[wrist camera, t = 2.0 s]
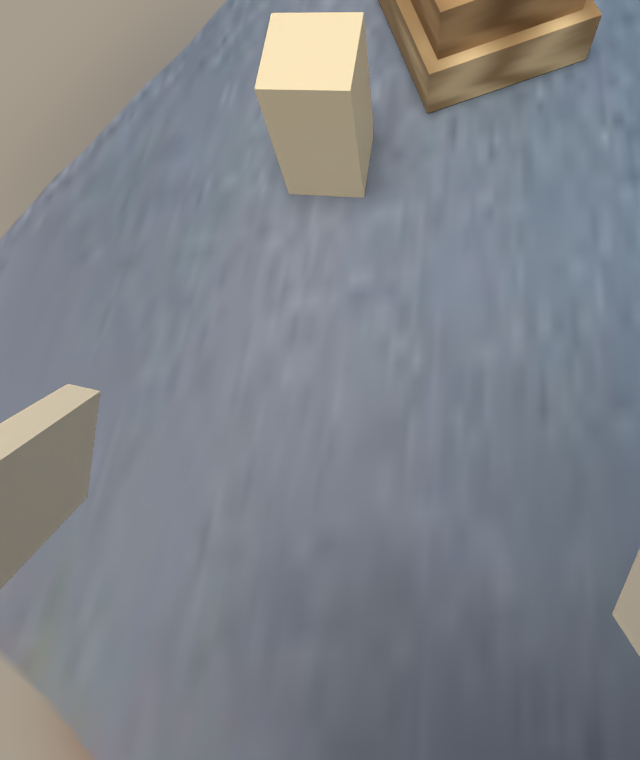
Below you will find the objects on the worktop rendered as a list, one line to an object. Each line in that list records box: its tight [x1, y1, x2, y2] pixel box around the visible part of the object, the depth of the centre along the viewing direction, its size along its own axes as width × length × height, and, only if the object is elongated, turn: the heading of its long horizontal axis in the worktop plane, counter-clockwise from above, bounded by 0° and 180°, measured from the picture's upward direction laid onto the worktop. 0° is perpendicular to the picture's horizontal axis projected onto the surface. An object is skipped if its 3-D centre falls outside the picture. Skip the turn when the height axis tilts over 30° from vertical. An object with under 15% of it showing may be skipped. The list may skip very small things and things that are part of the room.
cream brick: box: [255, 12, 374, 198], centre depth 42 cm, size 6×6×11 cm
